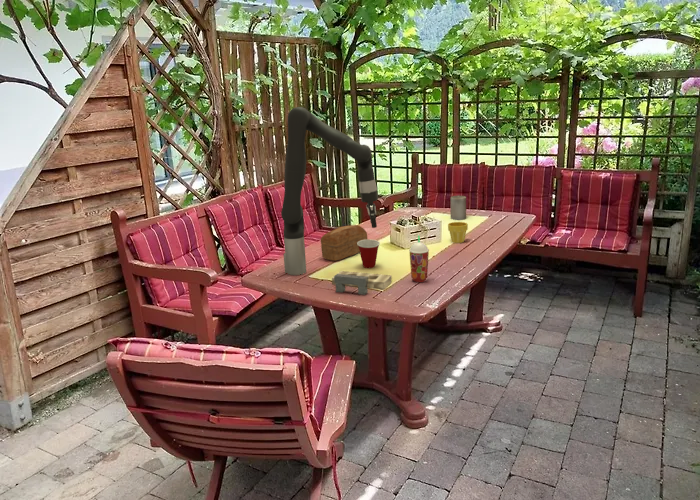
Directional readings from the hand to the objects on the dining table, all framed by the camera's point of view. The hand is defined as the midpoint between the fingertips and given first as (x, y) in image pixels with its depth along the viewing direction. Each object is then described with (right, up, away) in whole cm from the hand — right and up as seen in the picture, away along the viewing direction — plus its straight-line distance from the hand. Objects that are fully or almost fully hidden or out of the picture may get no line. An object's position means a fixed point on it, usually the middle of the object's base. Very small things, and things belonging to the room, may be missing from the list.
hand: (373, 225), depth 257 cm
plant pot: (+47, -7, +50) cm, 69 cm away
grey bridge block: (-10, -29, -20) cm, 36 cm away
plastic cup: (-2, -19, +13) cm, 23 cm away
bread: (-13, -14, +34) cm, 39 cm away
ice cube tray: (-6, -25, -9) cm, 28 cm away
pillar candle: (+58, +9, +102) cm, 118 cm away
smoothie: (+20, -24, -9) cm, 32 cm away
